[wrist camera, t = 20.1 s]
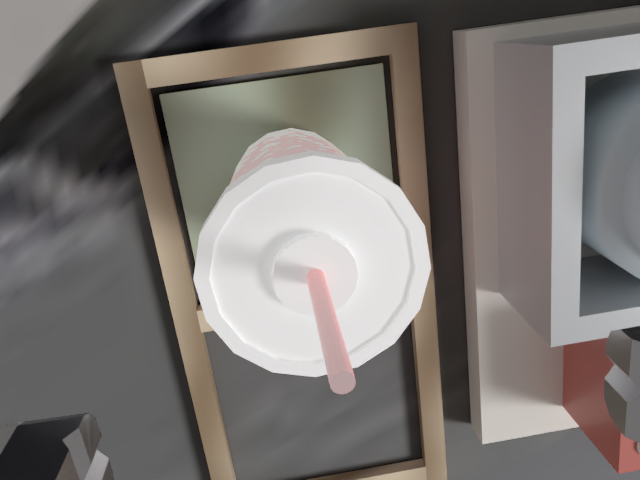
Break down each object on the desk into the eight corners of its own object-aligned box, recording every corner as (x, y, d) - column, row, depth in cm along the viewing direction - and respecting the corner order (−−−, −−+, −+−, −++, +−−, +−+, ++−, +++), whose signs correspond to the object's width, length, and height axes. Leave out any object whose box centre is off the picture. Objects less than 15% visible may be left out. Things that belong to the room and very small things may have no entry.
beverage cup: (185, 147, 23) (98, 311, 10) (333, 81, 23) (448, 157, 10) (254, 281, 25) (258, 563, 12) (389, 222, 25) (546, 443, 12)
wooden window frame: (412, 22, 22) (416, 22, 22) (453, 615, 33) (457, 626, 33) (115, 62, 22) (112, 63, 21) (255, 655, 32) (255, 666, 32)
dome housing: (751, -11, 23) (911, -23, 18) (707, 381, 30) (815, 464, 24) (452, 30, 23) (519, 32, 17) (470, 423, 29) (524, 520, 23)
